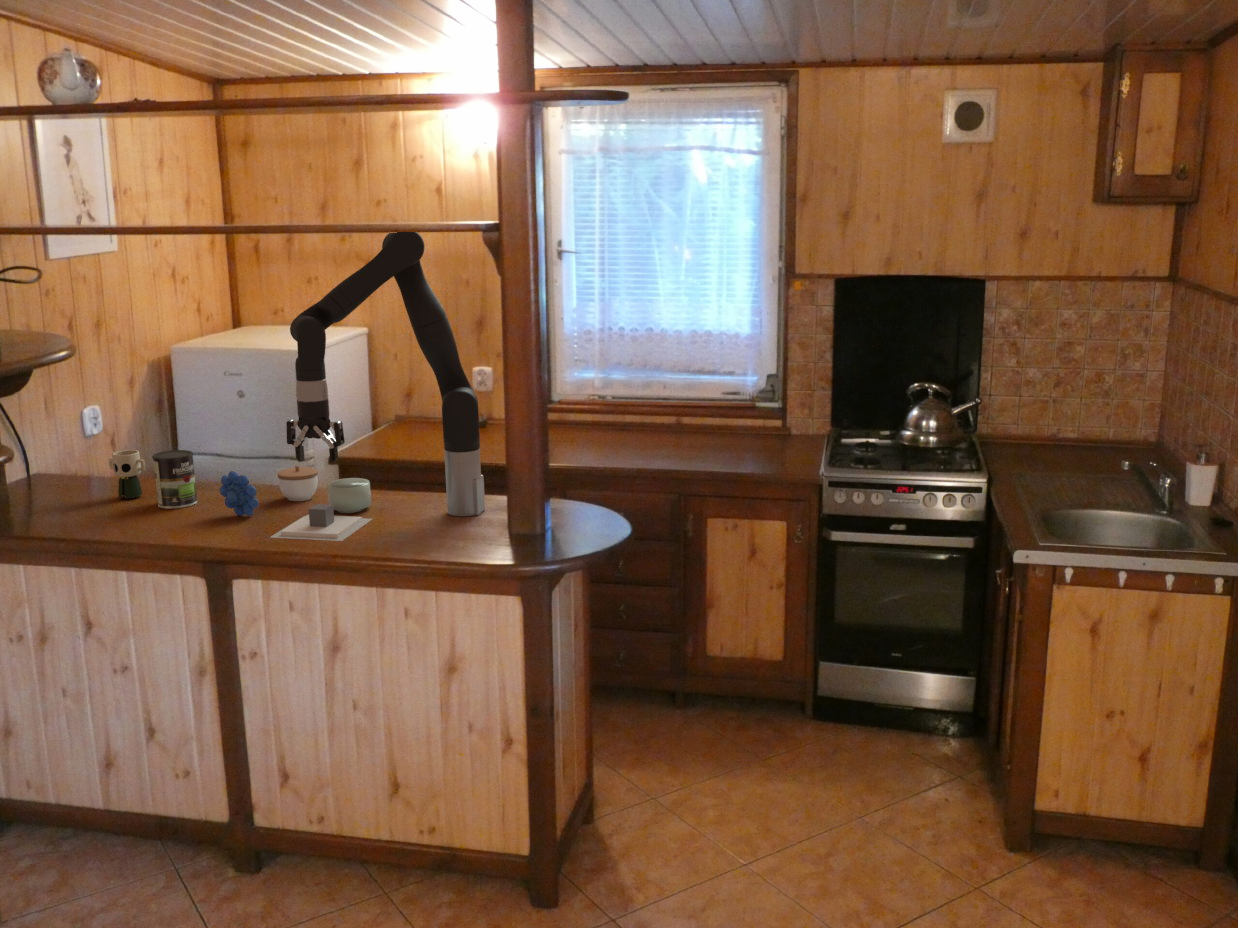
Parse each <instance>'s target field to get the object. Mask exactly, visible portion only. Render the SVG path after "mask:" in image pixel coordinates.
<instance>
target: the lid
mask: <svg viewBox="0 0 1238 928" xmlns="http://www.w3.org/2000/svg"><path fill="white" fill-rule="evenodd" d="M334 511H335V510H333V505H329V504H323V503H321V504H320V503H319V504H318V503H316V504H314V505H313V506H311V507H310V508H308V514H305V515H304V516H305V517H303V516H302V517H303V518H302V517H300V518H301V519H300V518H299V519H300V520H298V519H297V520H298V521H297V520H296V521H297V522H295V521H294V522H295V523H294V522H292V523H293V524H292V523H291V524H292V525H290V524H289V525H290V526H289V525H288V526H289V527H287V526H286V527H287V528H285V527H284V528H285V529H284V528H283V529H284V530H282V529H281V530H282V531H281V530H280V531H281V535H284V536H305V537H325V538H339V537H340V536H341V535H343V534H344V533H346V532H347V531H348V530H350V529H351V528H353V527H354V526H356V525H357V524H358V523H360V522H361V521H362V518H363V516H348V515H335V514H334V513H335V512H334Z"/></svg>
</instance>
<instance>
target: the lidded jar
mask: <svg viewBox="0 0 1238 928" xmlns="http://www.w3.org/2000/svg"><path fill="white" fill-rule="evenodd" d="M318 472H319V471H318V469H317V468H314V467H307V466H299V465H295V466H294V467H288V468H285V469H281V470H279V471H278V472H277V479H278V486H279V489H280V491H281V493H282V495H283V496H284V497H285V498H286V499H288V501H290V502H304V501H305V502H306V501H309V500H311V499H312V497H313V495H314V494H315V493H316V491H317V489H318V484H319V483H318V482H319V478H318V474H319V473H318Z"/></svg>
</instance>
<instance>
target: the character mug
mask: <svg viewBox="0 0 1238 928" xmlns="http://www.w3.org/2000/svg"><path fill="white" fill-rule="evenodd" d="M108 465H109V469H110V470H112V471H113V474H114V475H115V476H116V477H117V478H118V489H117V490H118V498H119V499H123V496H124V498H125V500H127V499H136V498H138V497H140V496H142V495H143V490H142V485H141V482H140V478H139V476H138V475H140V474H142V471H143V472H144V471H146V463H145V459H142V458H141V456H140V451H139V450H138V449H124V450H117V451H114V452H112V454H111V457H109V458H108ZM135 497H136V498H135Z"/></svg>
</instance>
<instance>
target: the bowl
mask: <svg viewBox="0 0 1238 928" xmlns="http://www.w3.org/2000/svg"><path fill="white" fill-rule="evenodd" d="M326 486H327V497H328V498H327V501H328V505H333V511H336V512H337V513H341V514H354V513H358V512H363V510H365V509H366V508H368V507H370V506H371V505H372V498H371V497H372V495H371V482H370V480H369V479H367V478H362V477H361V478H360V477H348V478H346V477H345V478H339V479H334V480H332V481H330V482H328V483H327V485H326Z"/></svg>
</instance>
